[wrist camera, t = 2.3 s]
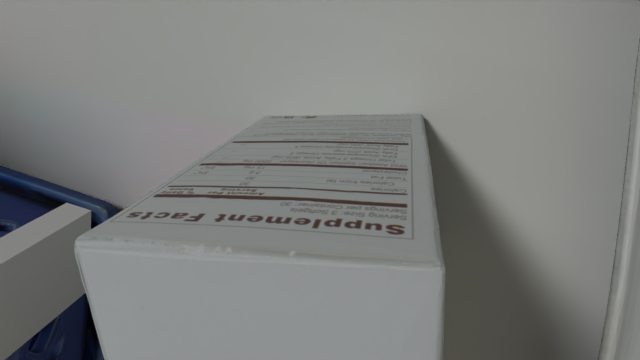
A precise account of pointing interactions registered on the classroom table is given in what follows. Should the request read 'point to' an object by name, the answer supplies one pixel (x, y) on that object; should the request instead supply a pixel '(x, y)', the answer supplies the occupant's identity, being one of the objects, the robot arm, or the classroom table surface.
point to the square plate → (626, 254)
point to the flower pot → (76, 321)
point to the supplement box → (279, 250)
